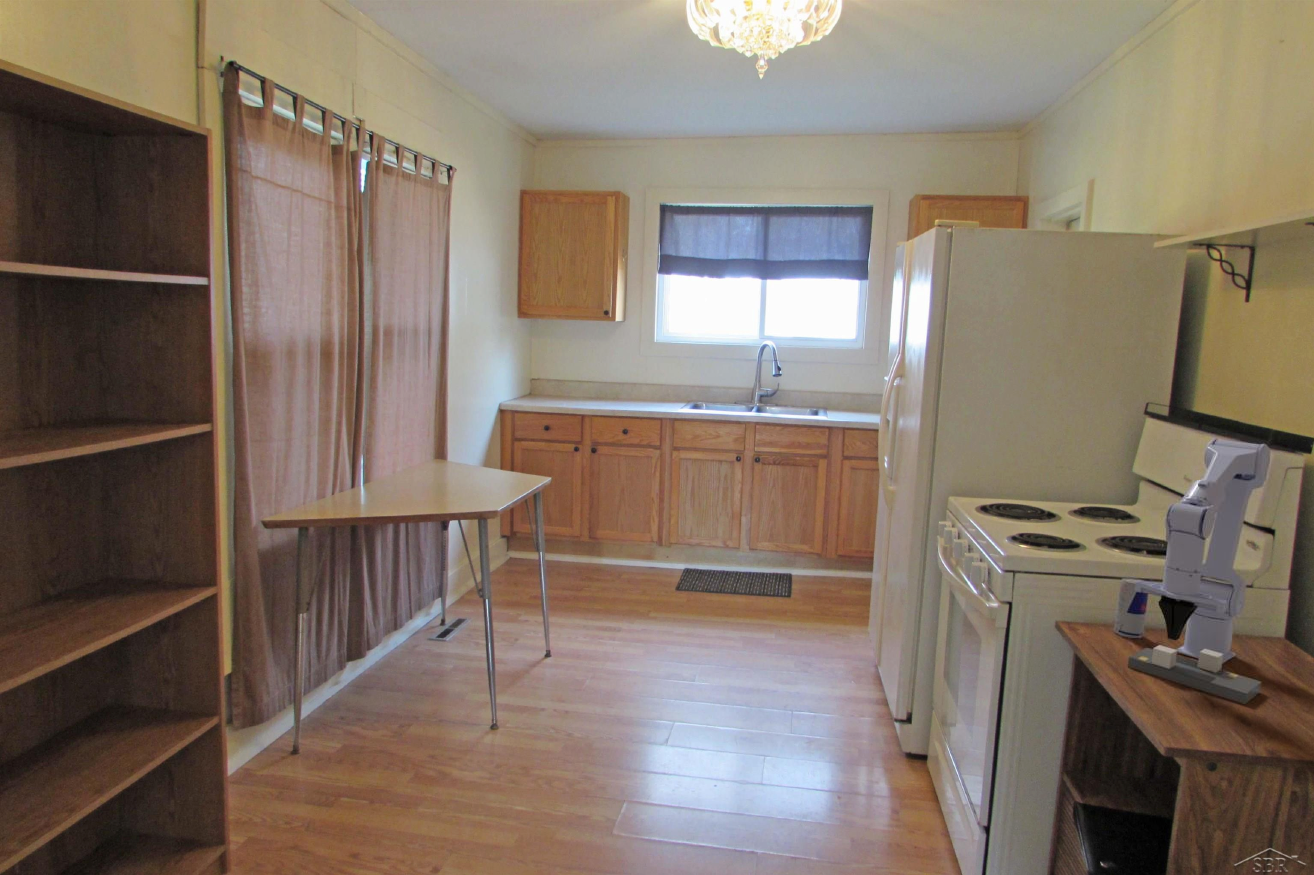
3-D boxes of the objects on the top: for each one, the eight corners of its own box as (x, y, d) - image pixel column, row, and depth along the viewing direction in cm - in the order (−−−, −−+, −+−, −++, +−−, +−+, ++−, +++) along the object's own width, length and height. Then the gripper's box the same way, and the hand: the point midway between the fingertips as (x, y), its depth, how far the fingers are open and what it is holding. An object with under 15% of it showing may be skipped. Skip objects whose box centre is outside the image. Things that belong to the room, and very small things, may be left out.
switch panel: (1146, 656, 162) (1147, 647, 161) (1260, 691, 147) (1262, 681, 147) (1127, 667, 155) (1128, 656, 155) (1244, 704, 141) (1245, 693, 141)
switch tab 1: (1157, 660, 154) (1159, 645, 154) (1175, 665, 152) (1177, 650, 152) (1151, 663, 152) (1153, 648, 152) (1169, 668, 150) (1171, 653, 150)
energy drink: (1146, 640, 171) (1153, 585, 170) (1119, 637, 172) (1126, 583, 171) (1136, 631, 176) (1143, 578, 175) (1110, 628, 177) (1117, 576, 176)
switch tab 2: (1202, 663, 154) (1204, 648, 153) (1221, 669, 151) (1223, 653, 151) (1197, 667, 152) (1199, 651, 151) (1215, 672, 149) (1218, 657, 149)
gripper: (1132, 561, 152) (1123, 630, 154) (1221, 581, 141) (1211, 655, 143) (1146, 556, 157) (1137, 623, 158) (1234, 575, 145) (1224, 647, 147)
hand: (1173, 638), depth 151 cm, fingers closed
